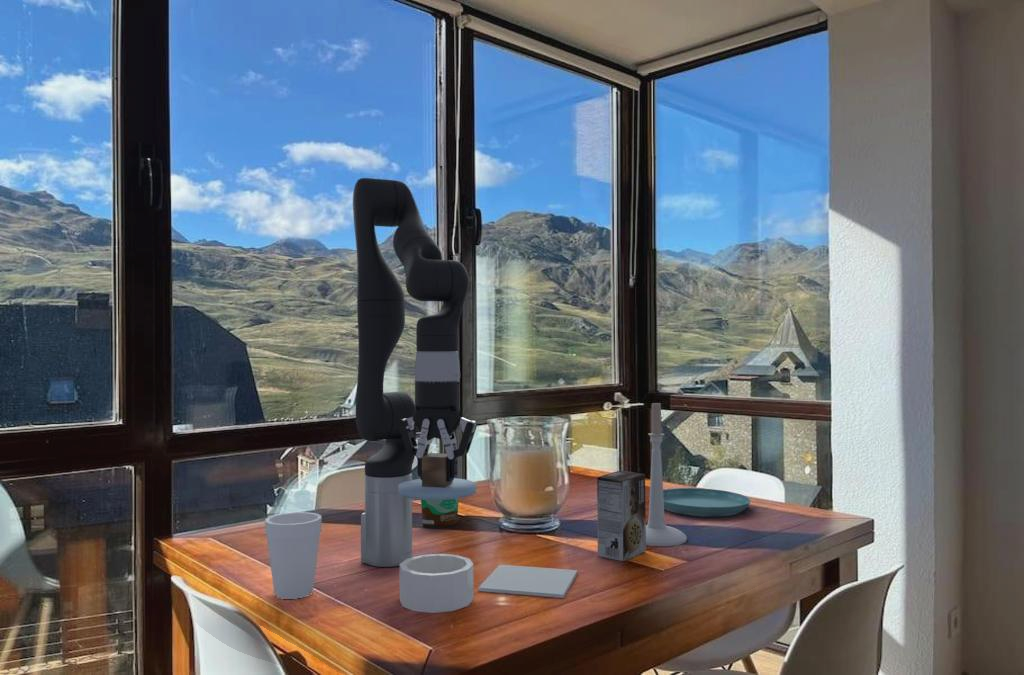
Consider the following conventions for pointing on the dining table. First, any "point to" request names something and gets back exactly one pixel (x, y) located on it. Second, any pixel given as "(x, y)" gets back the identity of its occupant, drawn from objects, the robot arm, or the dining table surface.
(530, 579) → the mat
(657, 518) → the candlestick
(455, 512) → the food container
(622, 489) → the coffee box
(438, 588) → the bowl
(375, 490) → the robot arm
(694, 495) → the saucer
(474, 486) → the lid
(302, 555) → the foam cup
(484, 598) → the dining table surface
